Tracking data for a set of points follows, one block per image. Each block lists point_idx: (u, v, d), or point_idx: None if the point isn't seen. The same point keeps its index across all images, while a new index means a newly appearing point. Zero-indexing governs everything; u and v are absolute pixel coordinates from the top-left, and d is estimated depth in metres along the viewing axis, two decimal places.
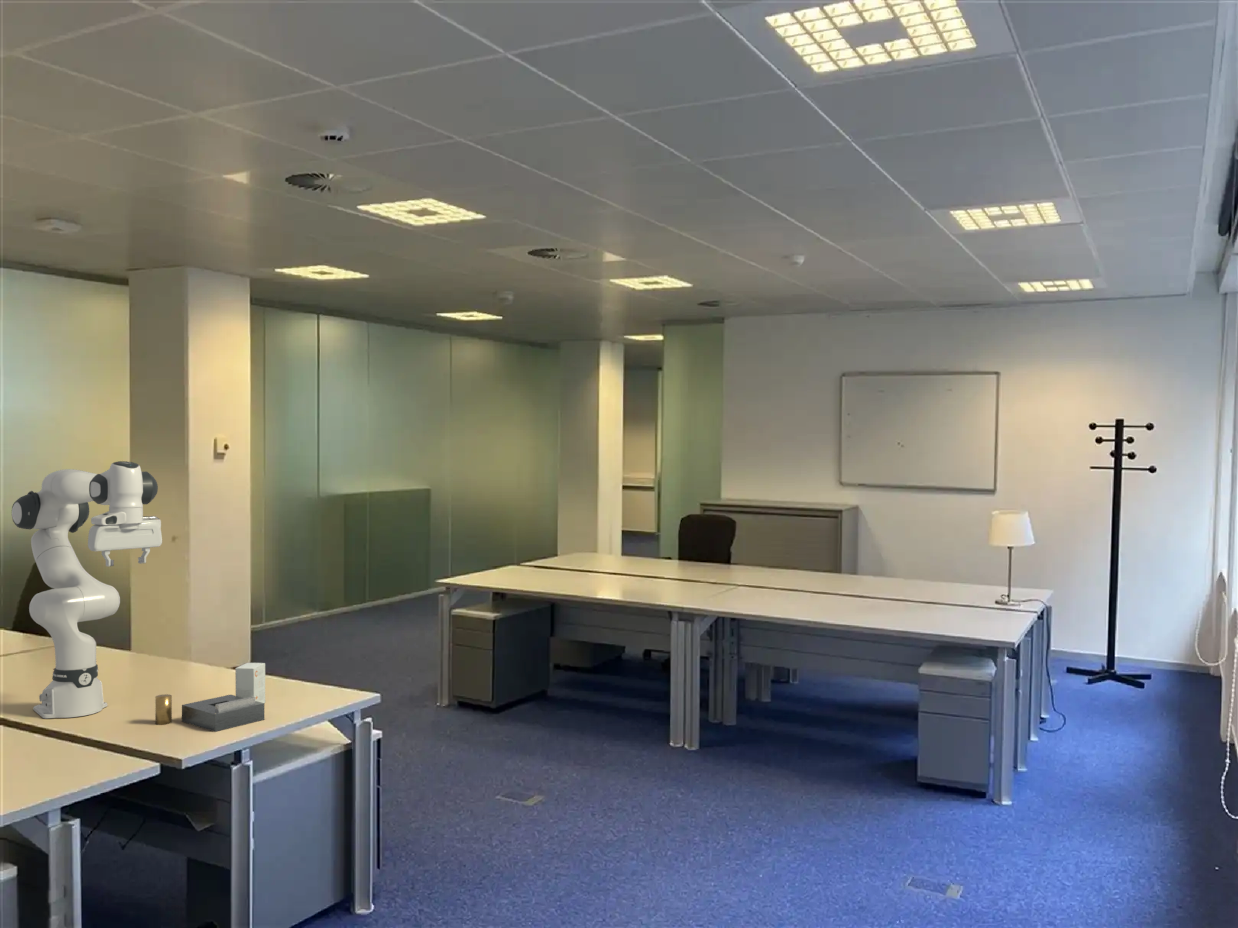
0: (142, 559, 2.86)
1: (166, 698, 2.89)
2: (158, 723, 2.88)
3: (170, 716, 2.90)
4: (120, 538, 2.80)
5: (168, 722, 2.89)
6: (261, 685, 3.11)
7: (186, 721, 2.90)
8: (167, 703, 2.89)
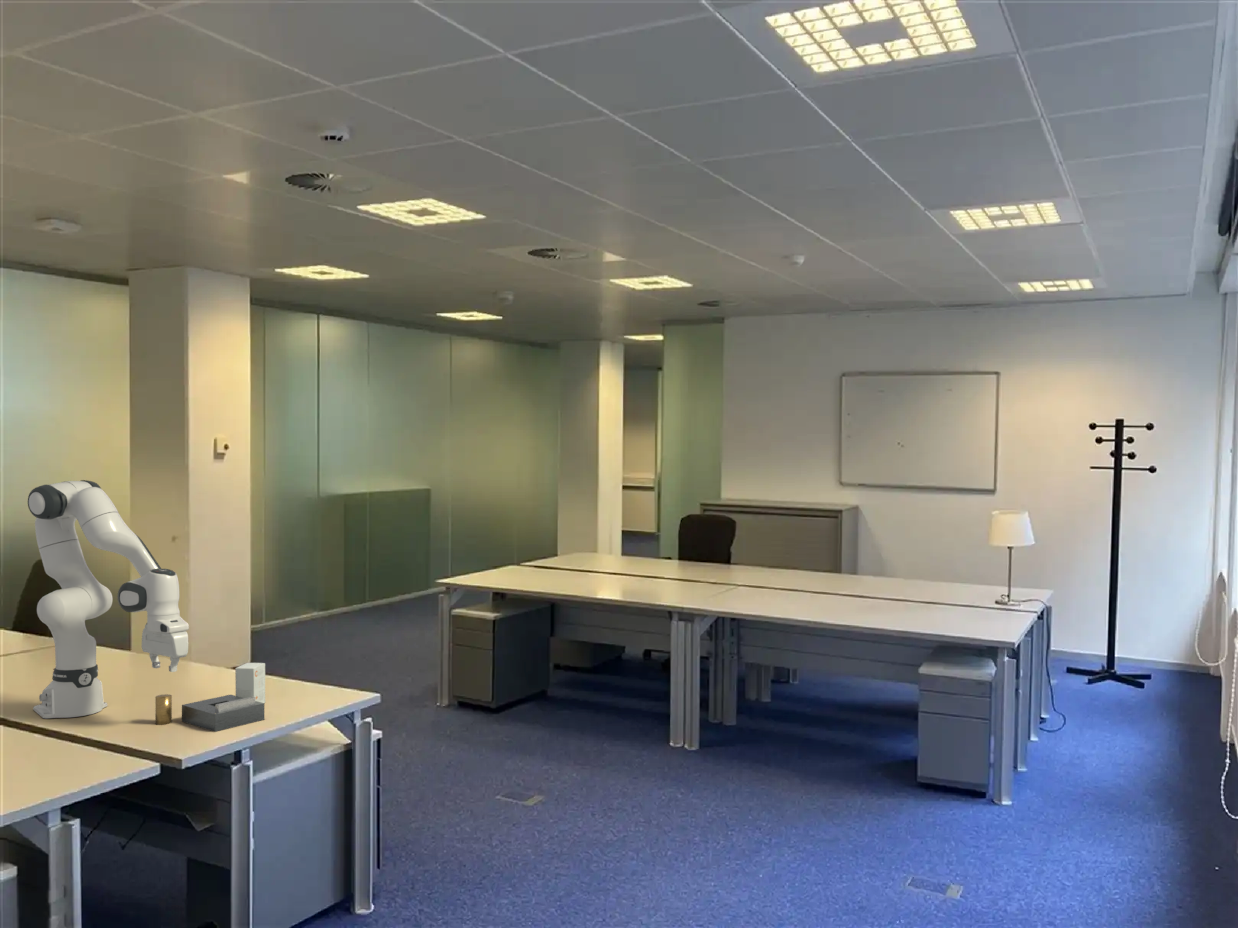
0: None
1: (166, 698, 2.89)
2: (158, 723, 2.88)
3: (170, 716, 2.90)
4: None
5: (168, 722, 2.89)
6: (261, 685, 3.11)
7: (186, 721, 2.90)
8: (167, 703, 2.89)
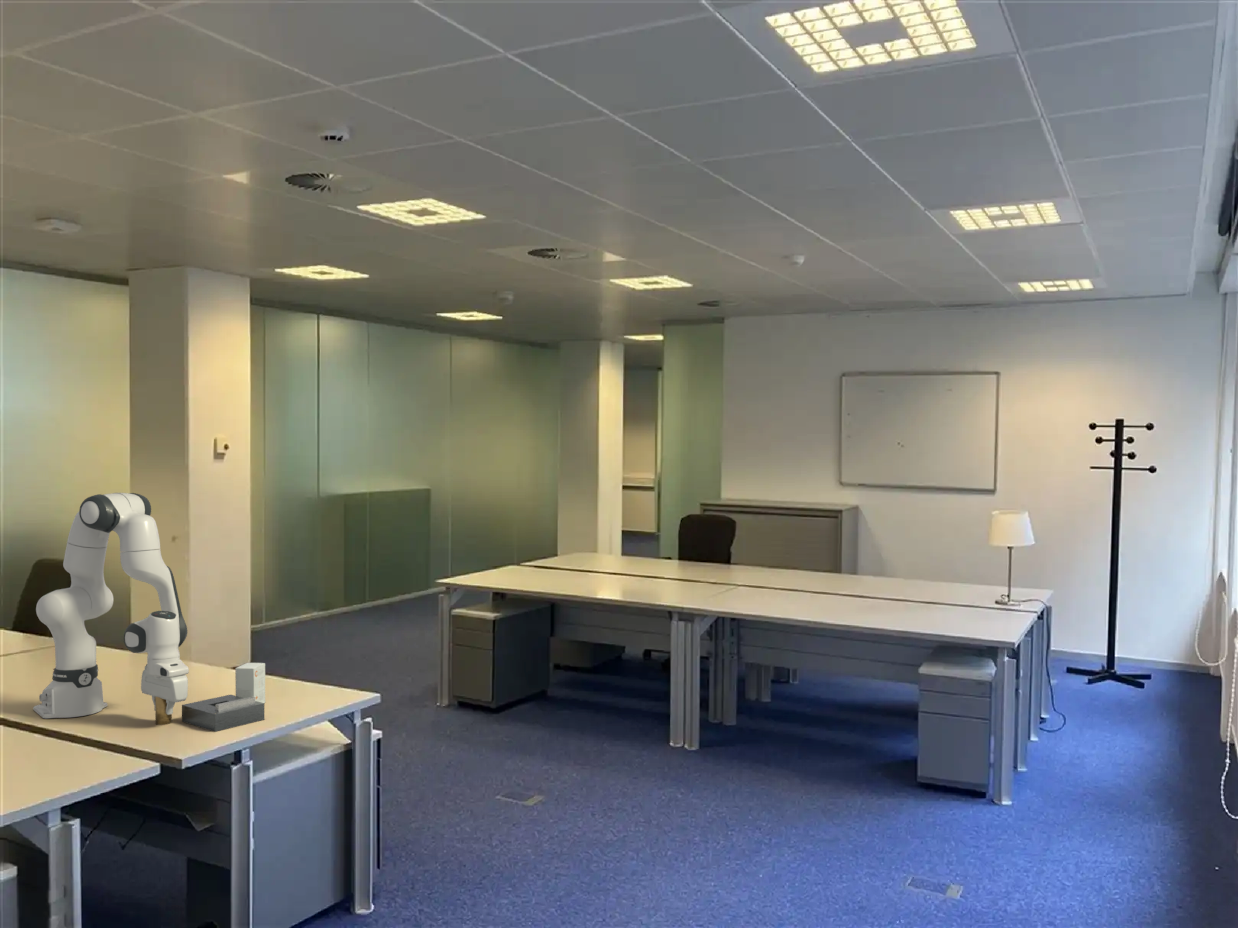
0: None
1: None
2: (158, 723, 2.88)
3: (170, 716, 2.90)
4: None
5: (168, 722, 2.89)
6: (261, 685, 3.11)
7: (186, 721, 2.90)
8: None
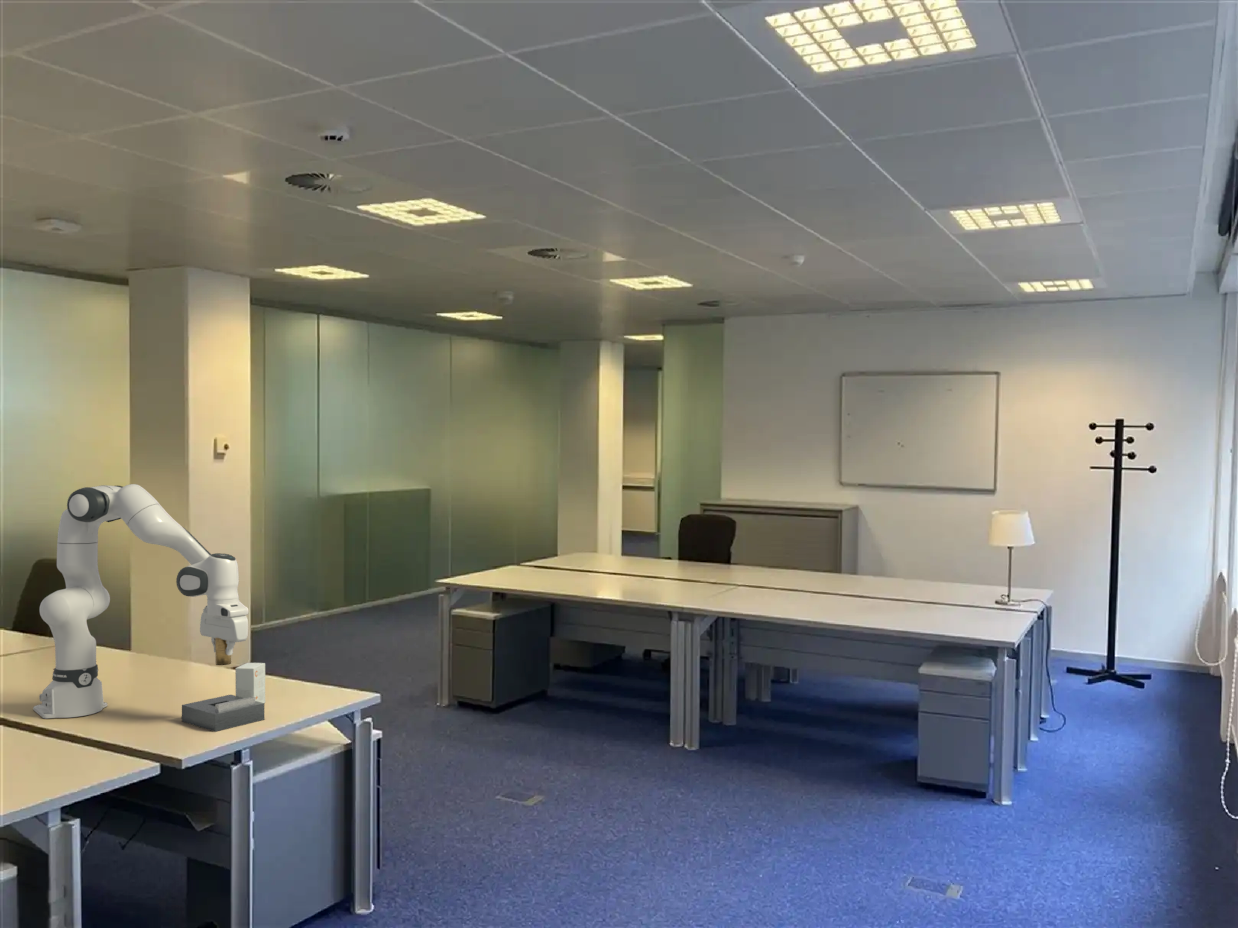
0: None
1: None
2: (218, 663, 2.90)
3: (230, 657, 2.92)
4: None
5: (228, 662, 2.92)
6: (261, 685, 3.11)
7: (186, 721, 2.90)
8: None
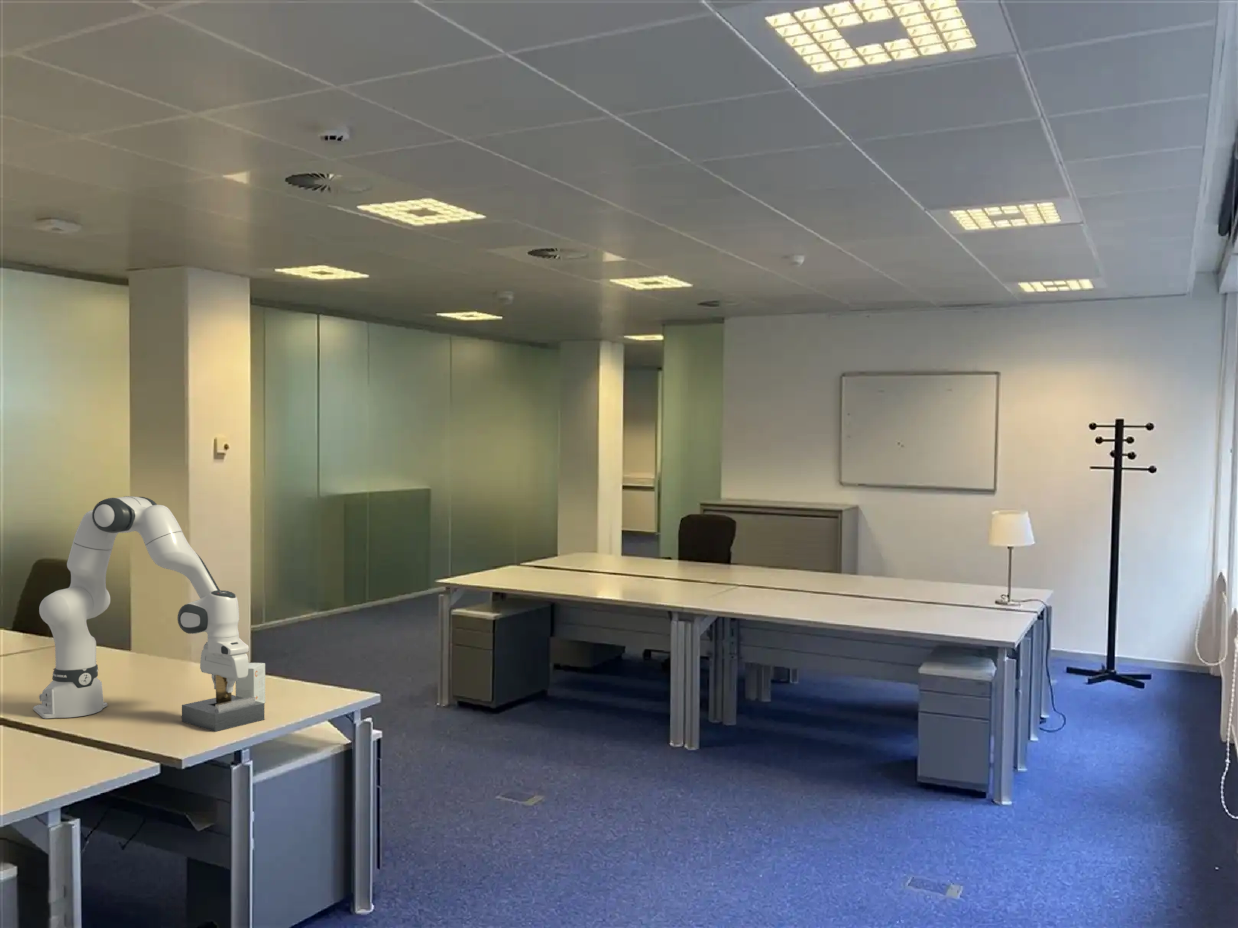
0: None
1: None
2: (219, 701, 2.91)
3: (230, 694, 2.93)
4: None
5: (228, 700, 2.92)
6: (261, 685, 3.11)
7: (186, 721, 2.90)
8: None
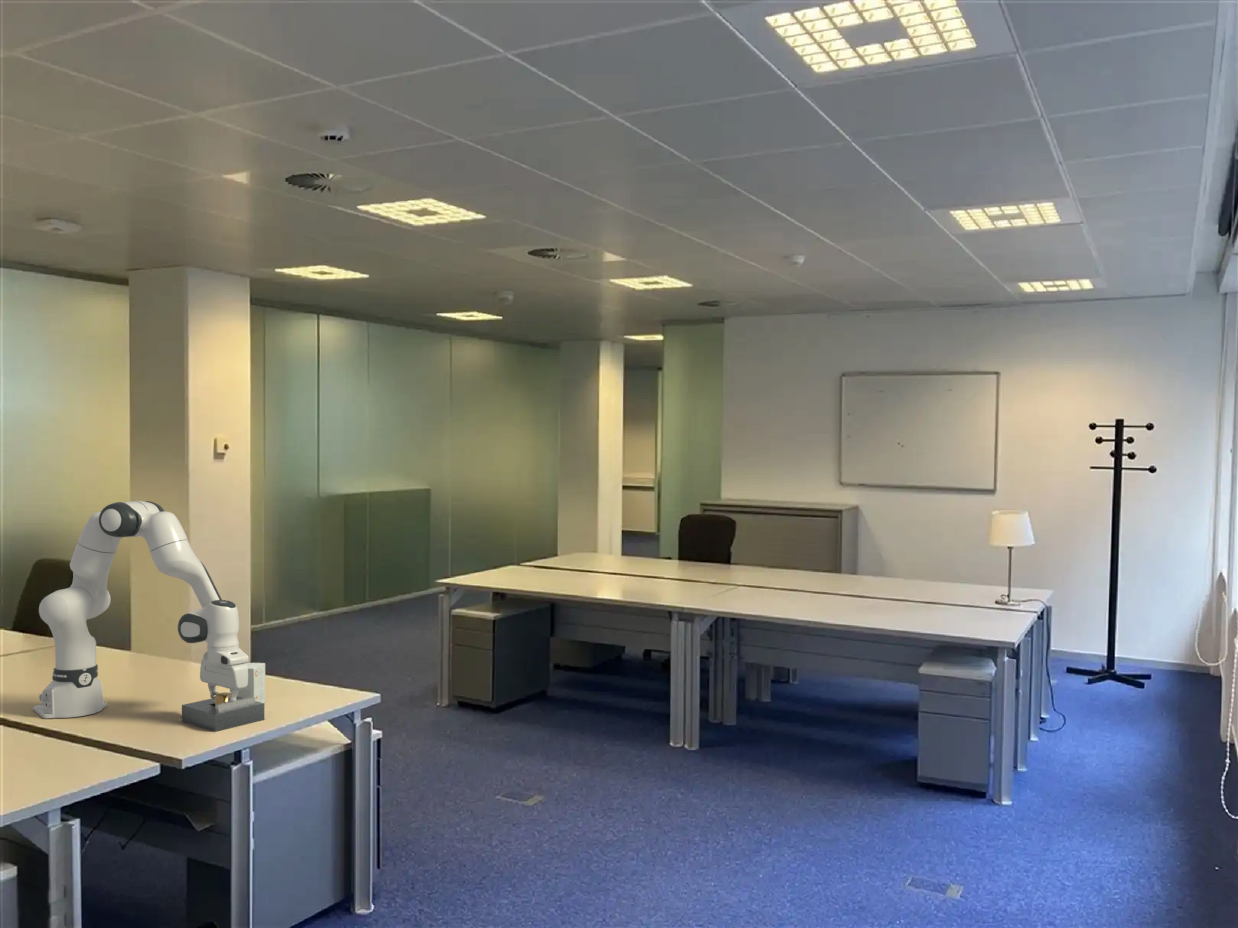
0: None
1: (226, 696, 2.91)
2: None
3: None
4: None
5: None
6: (261, 685, 3.11)
7: (186, 721, 2.90)
8: (227, 701, 2.91)
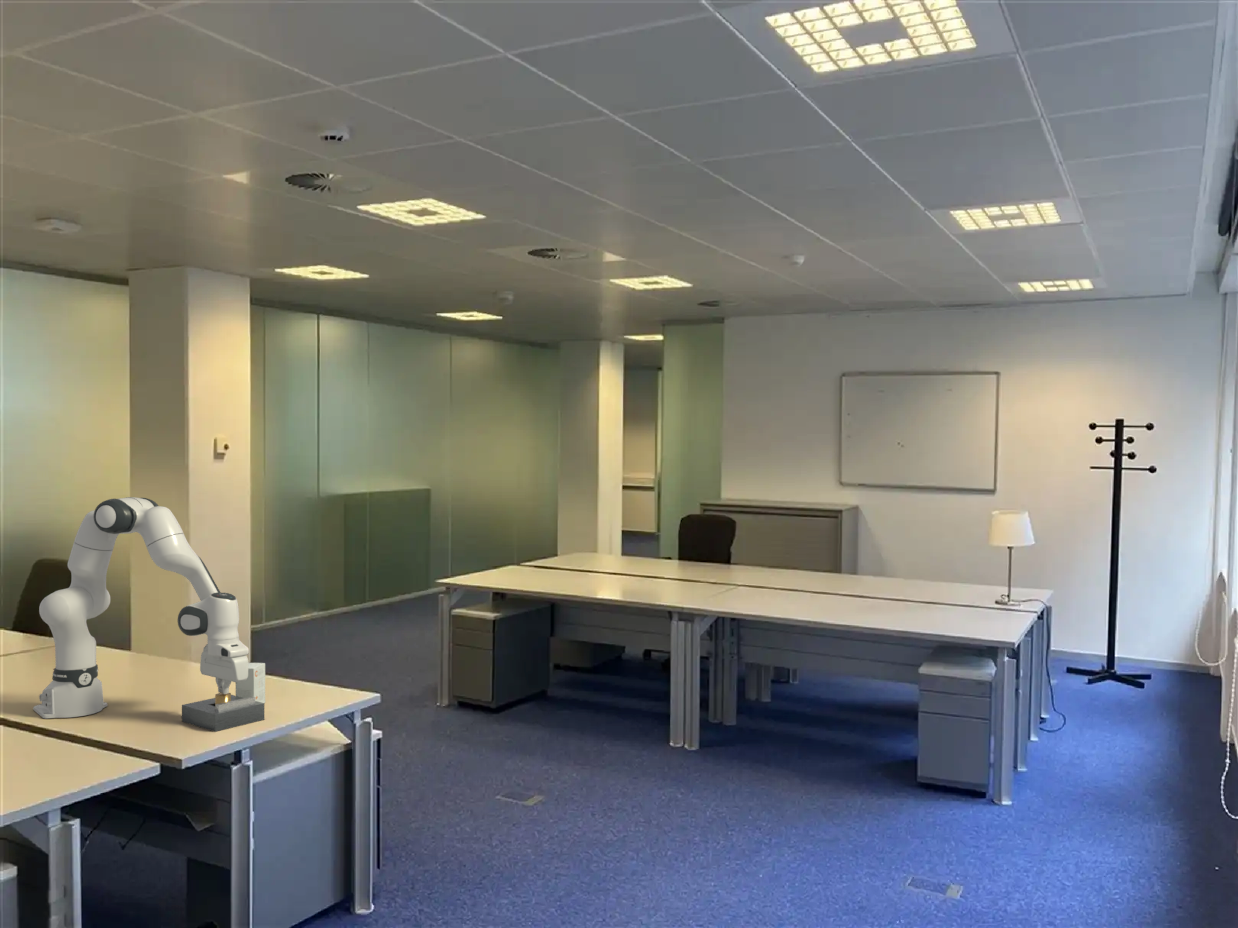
0: None
1: (226, 696, 2.91)
2: None
3: None
4: None
5: None
6: (261, 685, 3.11)
7: (186, 721, 2.90)
8: (227, 701, 2.91)
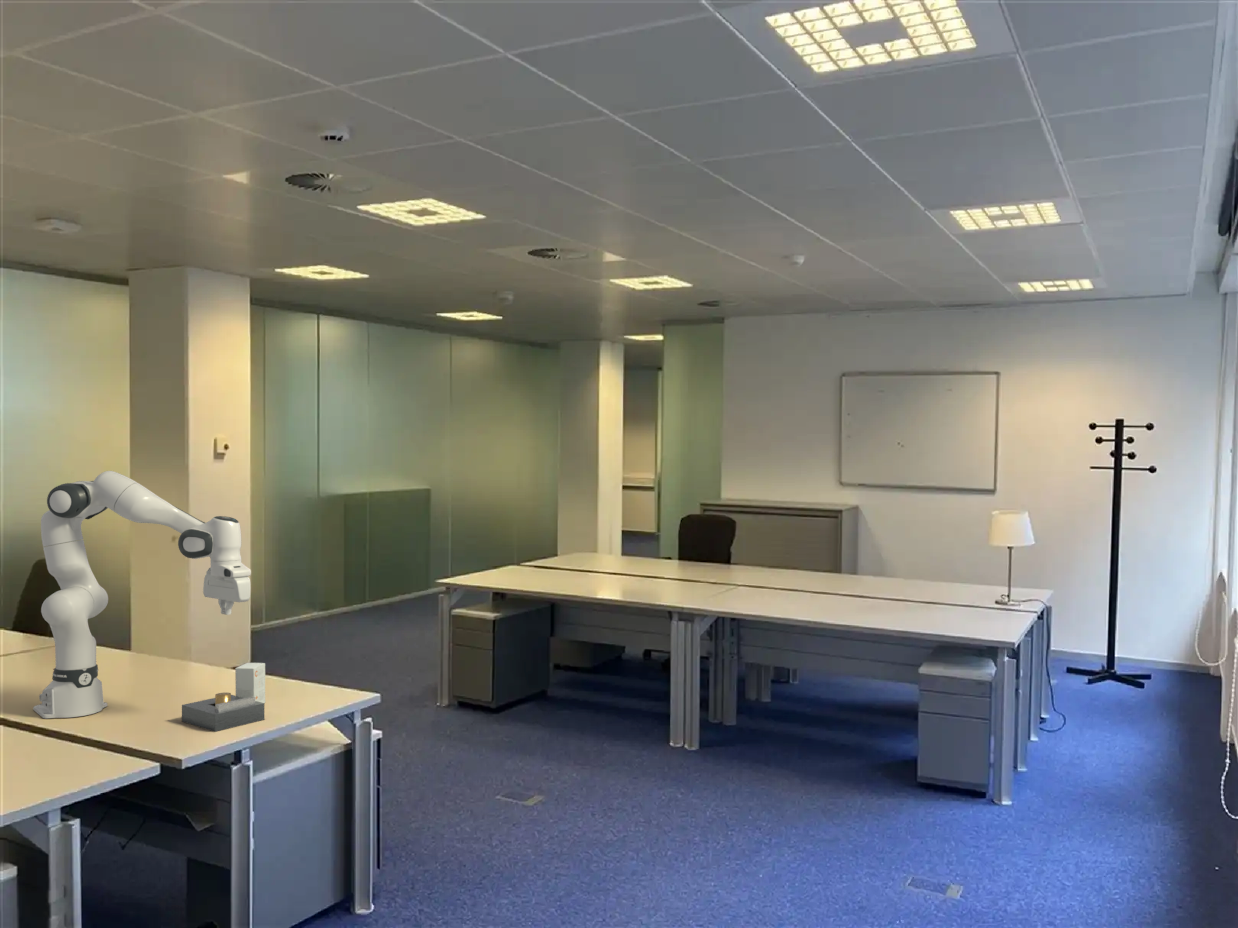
0: None
1: (226, 696, 2.91)
2: None
3: None
4: None
5: None
6: (261, 685, 3.11)
7: (186, 721, 2.90)
8: (227, 701, 2.91)
